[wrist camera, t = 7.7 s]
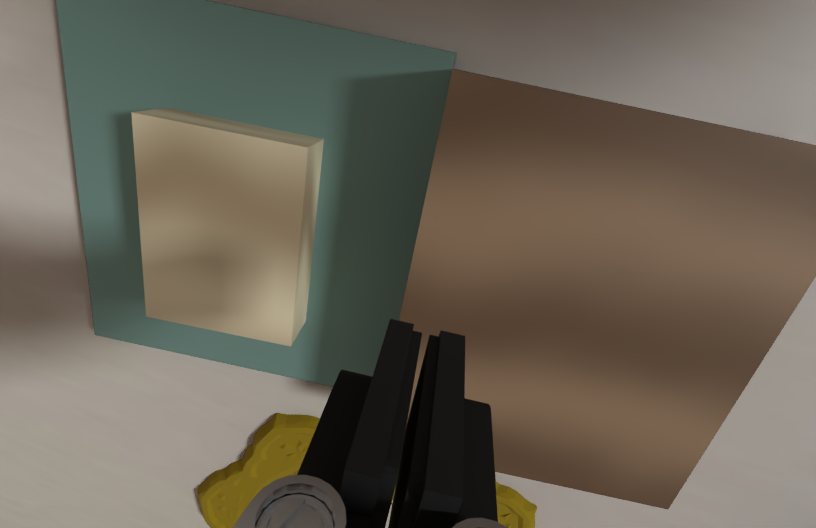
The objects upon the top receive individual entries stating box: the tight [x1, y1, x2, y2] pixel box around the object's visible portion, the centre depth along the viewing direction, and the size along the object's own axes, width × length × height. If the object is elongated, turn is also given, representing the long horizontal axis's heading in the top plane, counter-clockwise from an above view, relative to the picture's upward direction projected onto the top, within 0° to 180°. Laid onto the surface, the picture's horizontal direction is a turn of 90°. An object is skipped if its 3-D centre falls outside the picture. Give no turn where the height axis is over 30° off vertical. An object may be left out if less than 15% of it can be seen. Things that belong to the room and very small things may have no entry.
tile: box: [131, 108, 324, 346], centre depth 17 cm, size 8×6×2 cm
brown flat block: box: [399, 69, 816, 509], centre depth 17 cm, size 14×12×4 cm
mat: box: [56, 0, 456, 387], centre depth 18 cm, size 15×14×1 cm
